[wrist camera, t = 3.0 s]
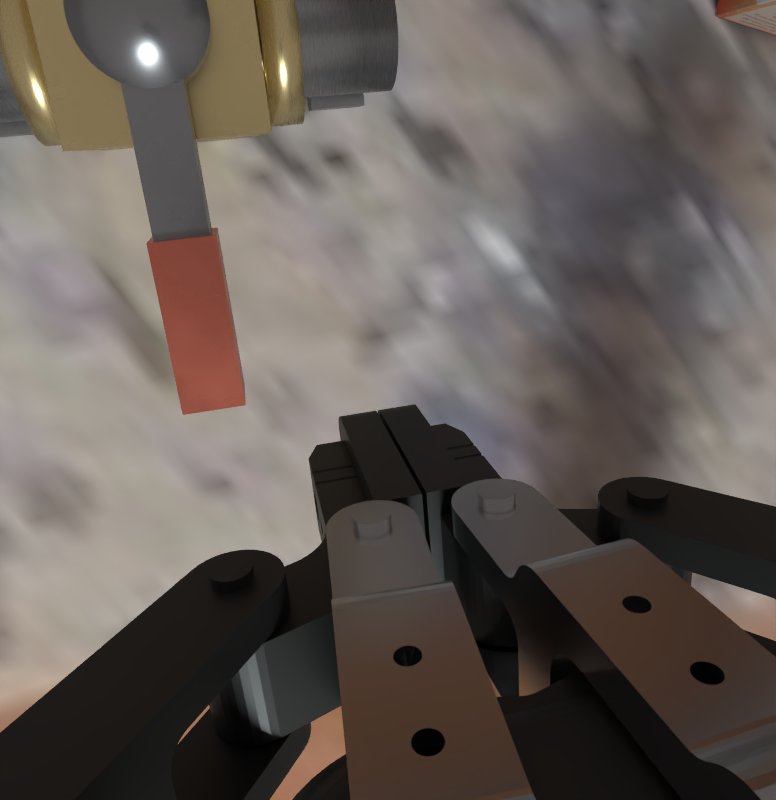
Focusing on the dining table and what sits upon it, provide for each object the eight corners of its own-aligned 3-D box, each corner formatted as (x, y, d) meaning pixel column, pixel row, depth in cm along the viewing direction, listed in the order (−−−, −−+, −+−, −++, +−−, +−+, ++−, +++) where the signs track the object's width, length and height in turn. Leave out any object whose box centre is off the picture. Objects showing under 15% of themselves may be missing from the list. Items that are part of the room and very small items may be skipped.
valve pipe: (363, -46, 30) (407, -111, 22) (378, 125, 33) (422, 119, 25) (-82, -25, 27) (-203, -91, 20) (-28, 162, 30) (-117, 166, 22)
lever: (65, -44, 21) (46, -67, 19) (198, -50, 22) (195, -72, 19) (163, 396, 26) (156, 418, 24) (267, 380, 27) (270, 401, 25)
